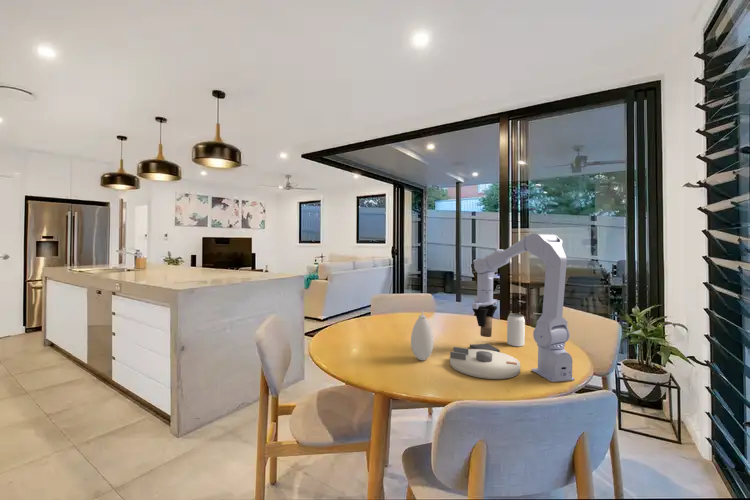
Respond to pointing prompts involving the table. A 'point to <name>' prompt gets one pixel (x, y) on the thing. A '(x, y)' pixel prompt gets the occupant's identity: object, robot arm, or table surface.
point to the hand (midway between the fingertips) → (484, 325)
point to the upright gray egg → (422, 338)
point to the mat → (484, 347)
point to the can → (516, 330)
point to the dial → (484, 363)
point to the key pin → (487, 327)
